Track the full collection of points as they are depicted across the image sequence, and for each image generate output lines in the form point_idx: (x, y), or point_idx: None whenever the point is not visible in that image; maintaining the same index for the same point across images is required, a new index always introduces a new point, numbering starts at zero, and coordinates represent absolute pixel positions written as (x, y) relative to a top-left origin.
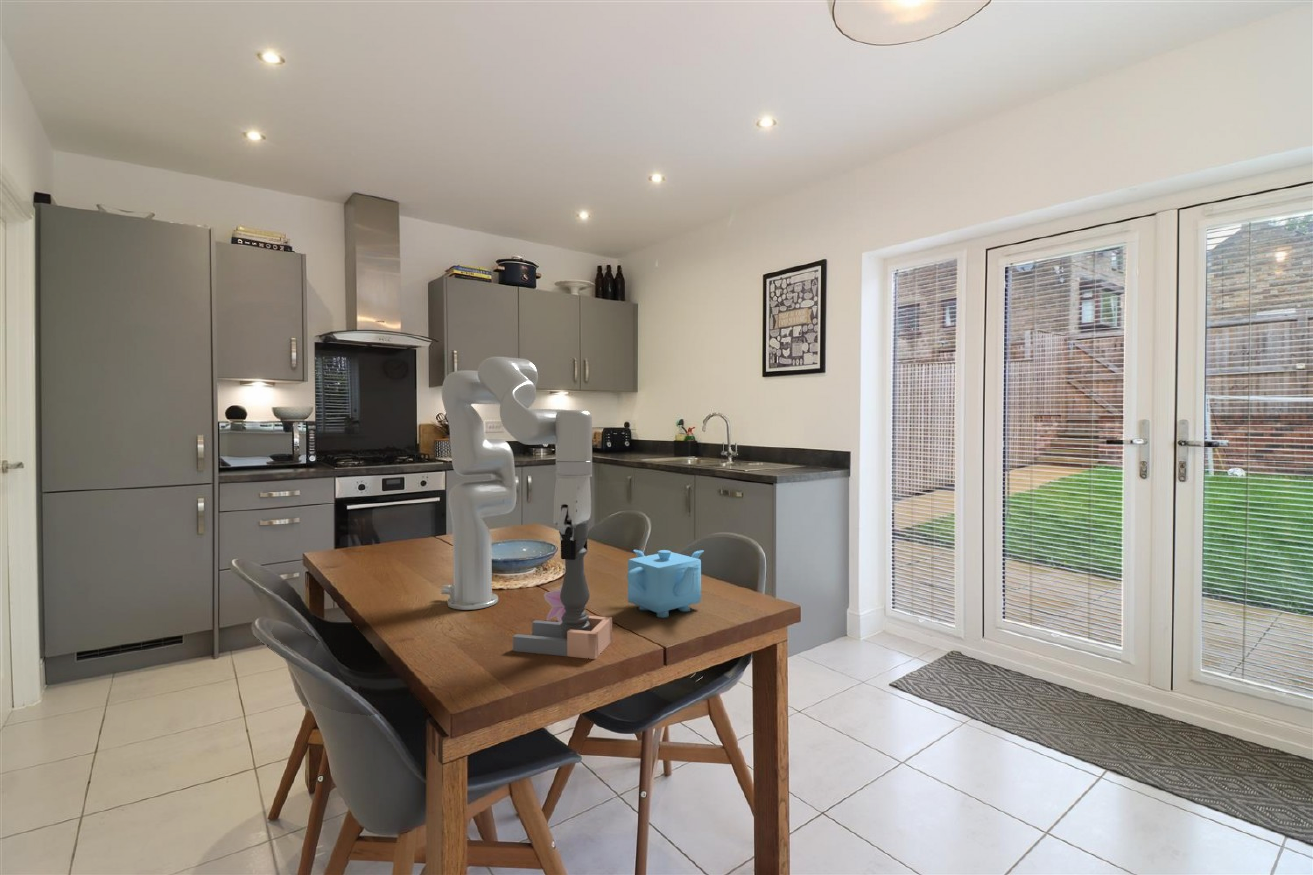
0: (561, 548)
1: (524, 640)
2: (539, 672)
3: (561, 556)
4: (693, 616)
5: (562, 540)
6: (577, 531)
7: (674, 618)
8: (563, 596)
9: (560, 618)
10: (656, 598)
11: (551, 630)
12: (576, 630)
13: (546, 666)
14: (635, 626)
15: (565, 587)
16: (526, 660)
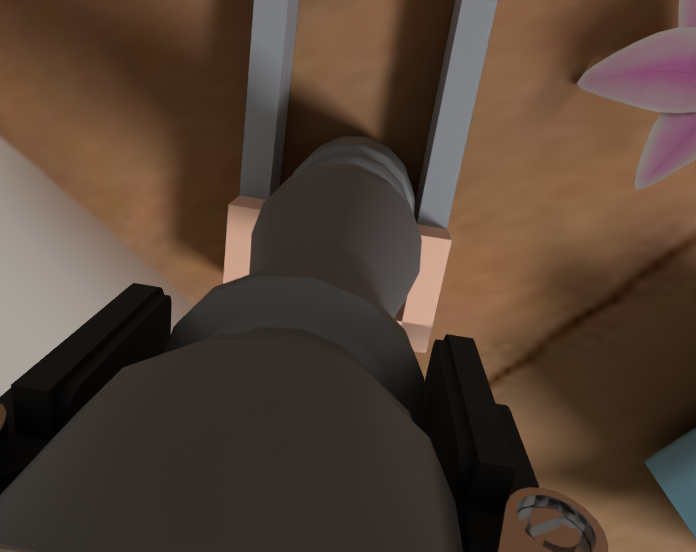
0: (81, 333)
1: None
2: (101, 120)
3: (128, 294)
4: (667, 542)
5: (19, 403)
6: None
7: (651, 489)
8: (266, 202)
9: (629, 60)
10: (682, 496)
11: (445, 65)
12: (250, 239)
13: (154, 130)
14: (571, 372)
15: (261, 227)
16: (190, 33)
